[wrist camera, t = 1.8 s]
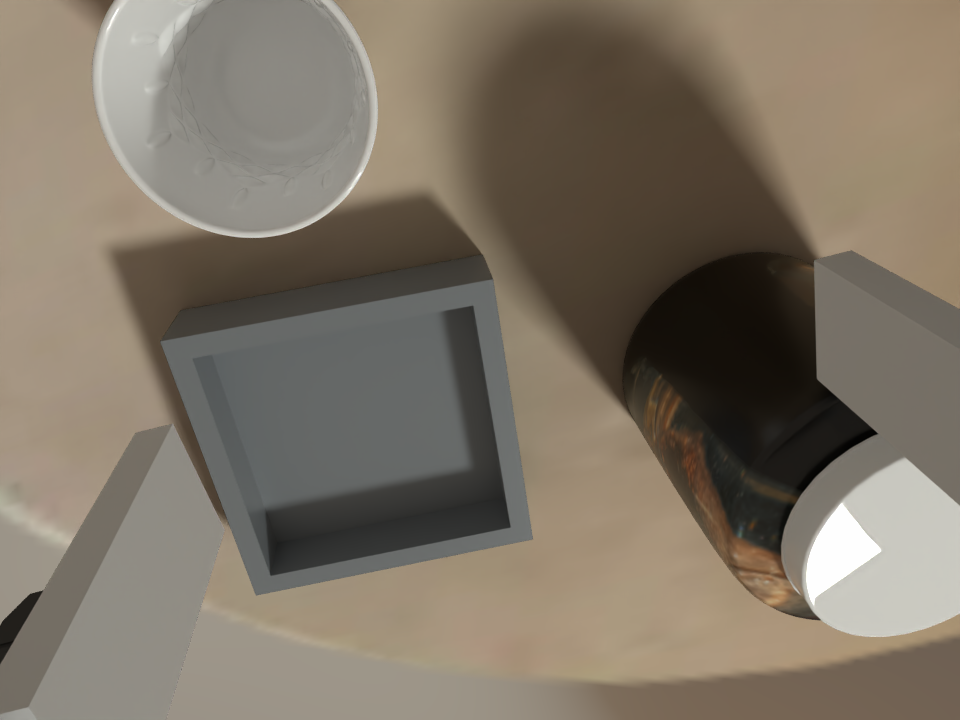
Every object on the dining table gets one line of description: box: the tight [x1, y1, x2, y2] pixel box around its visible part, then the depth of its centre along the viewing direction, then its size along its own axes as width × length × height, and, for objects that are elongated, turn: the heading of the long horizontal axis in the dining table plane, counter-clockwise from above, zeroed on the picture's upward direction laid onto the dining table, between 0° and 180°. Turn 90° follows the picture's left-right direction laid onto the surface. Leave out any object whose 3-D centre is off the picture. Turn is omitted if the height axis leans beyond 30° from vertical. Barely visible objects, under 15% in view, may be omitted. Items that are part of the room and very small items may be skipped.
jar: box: [623, 252, 960, 637], centre depth 32 cm, size 12×12×15 cm
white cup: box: [92, 0, 378, 238], centre depth 26 cm, size 8×8×10 cm
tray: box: [160, 255, 533, 595], centre depth 36 cm, size 14×14×4 cm
